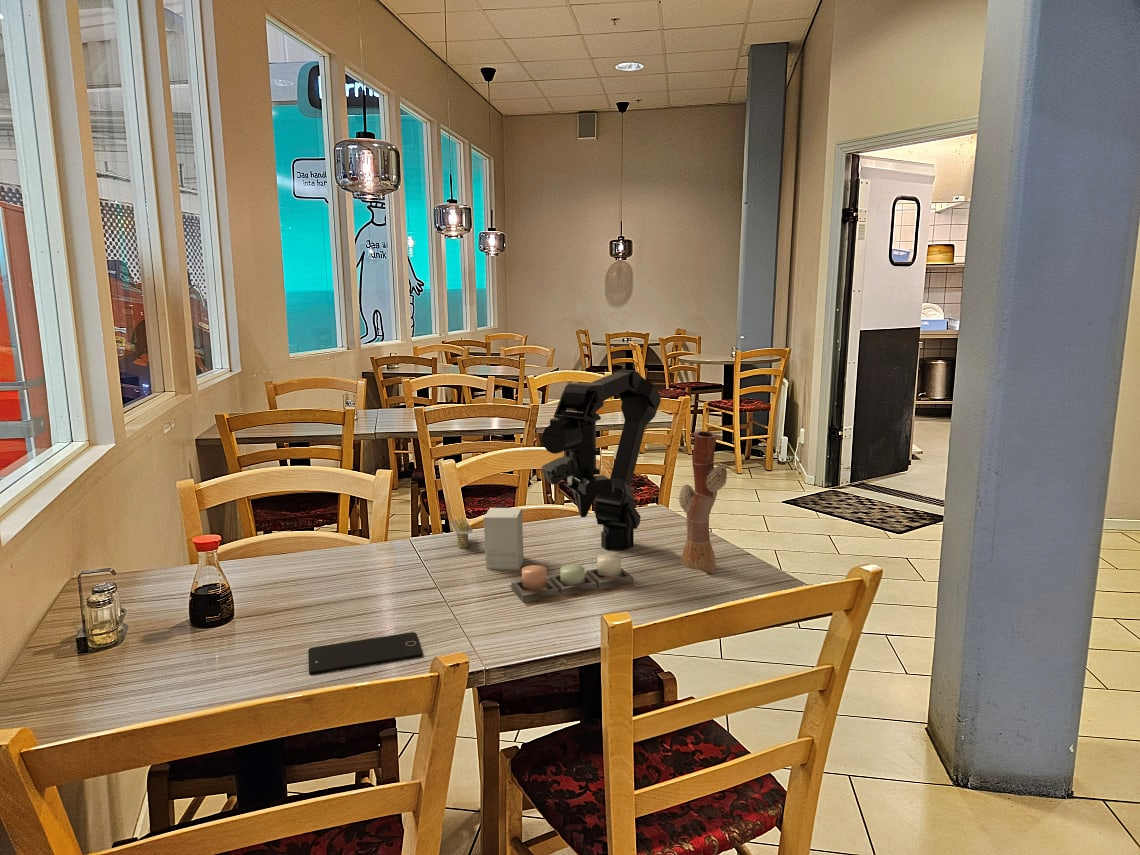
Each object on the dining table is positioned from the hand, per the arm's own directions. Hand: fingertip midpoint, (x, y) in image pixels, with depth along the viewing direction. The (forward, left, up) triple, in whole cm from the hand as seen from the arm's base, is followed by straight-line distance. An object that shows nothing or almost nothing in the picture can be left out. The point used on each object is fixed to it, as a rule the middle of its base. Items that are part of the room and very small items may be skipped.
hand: (583, 516), depth 164 cm
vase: (-23, +10, -12) cm, 28 cm away
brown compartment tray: (+7, +10, -12) cm, 17 cm away
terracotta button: (+15, +10, -9) cm, 20 cm away
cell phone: (+48, +20, -13) cm, 54 cm away
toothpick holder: (+20, -27, -13) cm, 36 cm away
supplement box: (+15, -8, -12) cm, 21 cm away
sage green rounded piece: (+7, +10, -10) cm, 16 cm away
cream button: (-1, +10, -9) cm, 13 cm away
